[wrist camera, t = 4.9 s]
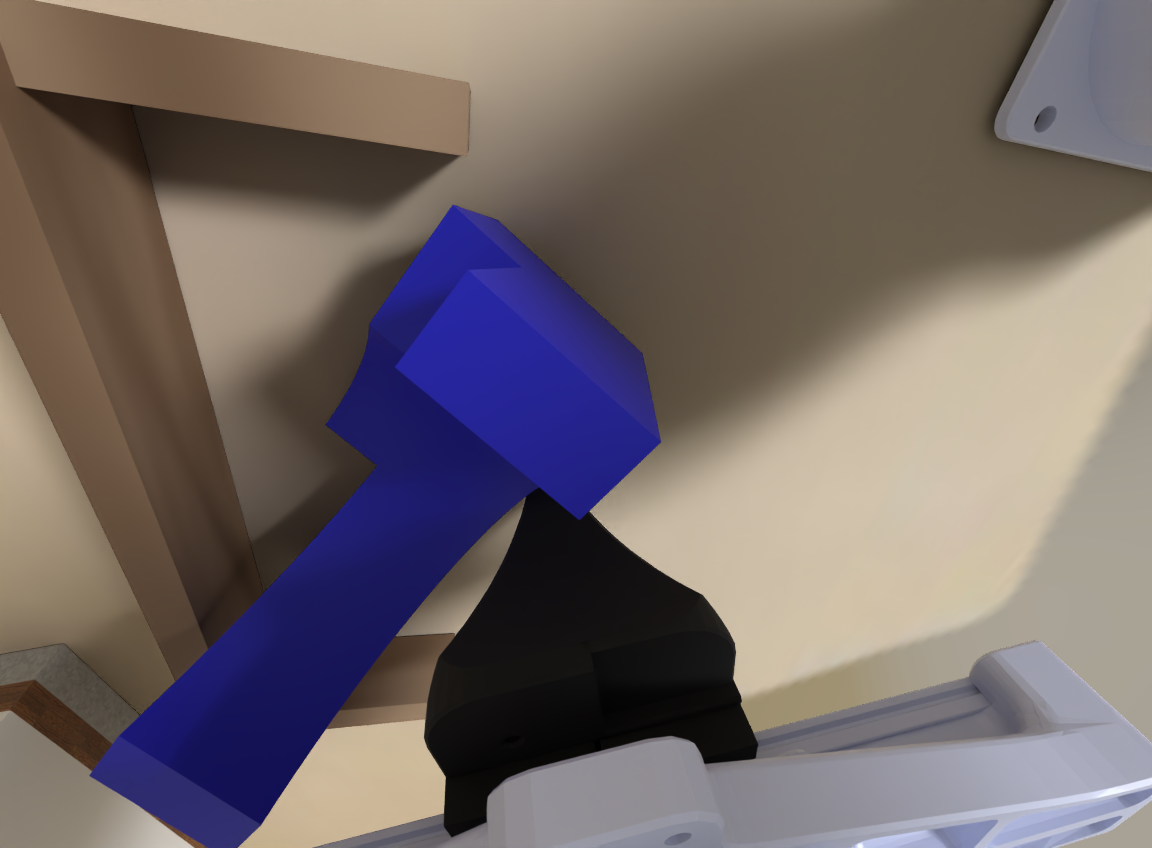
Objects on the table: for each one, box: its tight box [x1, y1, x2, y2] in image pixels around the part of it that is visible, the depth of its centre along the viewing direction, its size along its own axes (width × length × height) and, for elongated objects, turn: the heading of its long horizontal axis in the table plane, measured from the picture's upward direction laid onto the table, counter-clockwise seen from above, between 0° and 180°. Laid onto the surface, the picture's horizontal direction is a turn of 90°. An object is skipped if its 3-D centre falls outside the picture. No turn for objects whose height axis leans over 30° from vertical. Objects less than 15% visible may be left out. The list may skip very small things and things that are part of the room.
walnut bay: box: [0, 0, 471, 729], centre depth 12 cm, size 7×18×3 cm, turn 172°
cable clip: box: [89, 205, 661, 848], centre depth 10 cm, size 12×4×6 cm, turn 138°
